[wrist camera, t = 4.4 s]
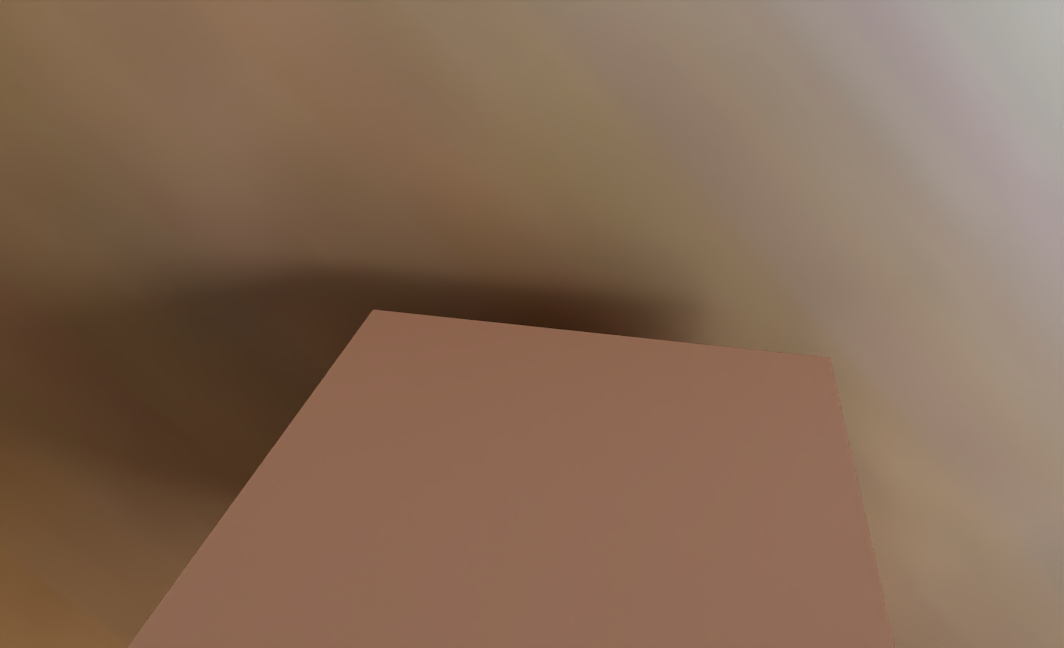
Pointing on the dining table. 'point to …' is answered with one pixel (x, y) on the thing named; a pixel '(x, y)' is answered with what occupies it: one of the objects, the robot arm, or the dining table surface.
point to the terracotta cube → (542, 503)
